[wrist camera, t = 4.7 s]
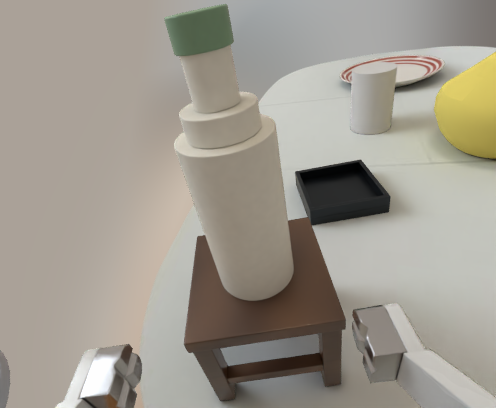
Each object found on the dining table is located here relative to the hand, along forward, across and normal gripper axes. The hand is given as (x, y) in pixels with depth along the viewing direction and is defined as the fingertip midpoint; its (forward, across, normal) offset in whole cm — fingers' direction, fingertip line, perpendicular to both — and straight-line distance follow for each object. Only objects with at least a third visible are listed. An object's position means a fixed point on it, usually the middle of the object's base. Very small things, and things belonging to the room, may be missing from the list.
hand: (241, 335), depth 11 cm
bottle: (+10, 0, +8) cm, 13 cm away
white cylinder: (+54, -27, +19) cm, 64 cm away
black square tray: (+32, -13, +18) cm, 39 cm away
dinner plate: (+84, -44, +19) cm, 97 cm away
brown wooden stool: (+10, 0, +18) cm, 21 cm away
